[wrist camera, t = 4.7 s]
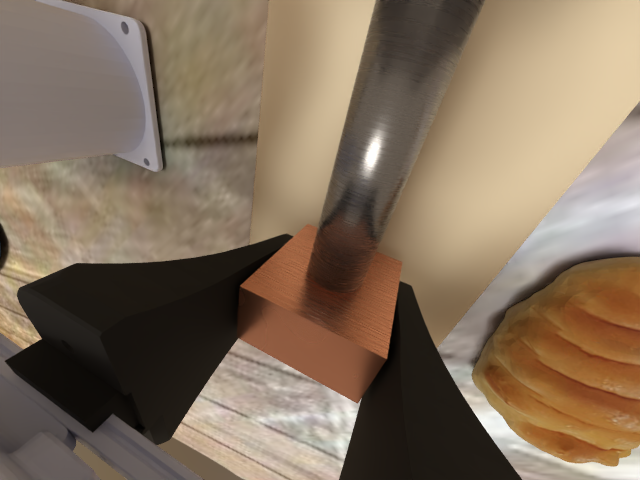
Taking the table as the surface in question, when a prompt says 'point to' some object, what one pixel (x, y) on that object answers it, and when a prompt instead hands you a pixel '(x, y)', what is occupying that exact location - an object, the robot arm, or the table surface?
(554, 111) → the latch board
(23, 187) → the table surface
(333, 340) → the bolt
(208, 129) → the table surface
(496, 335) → the pastry
